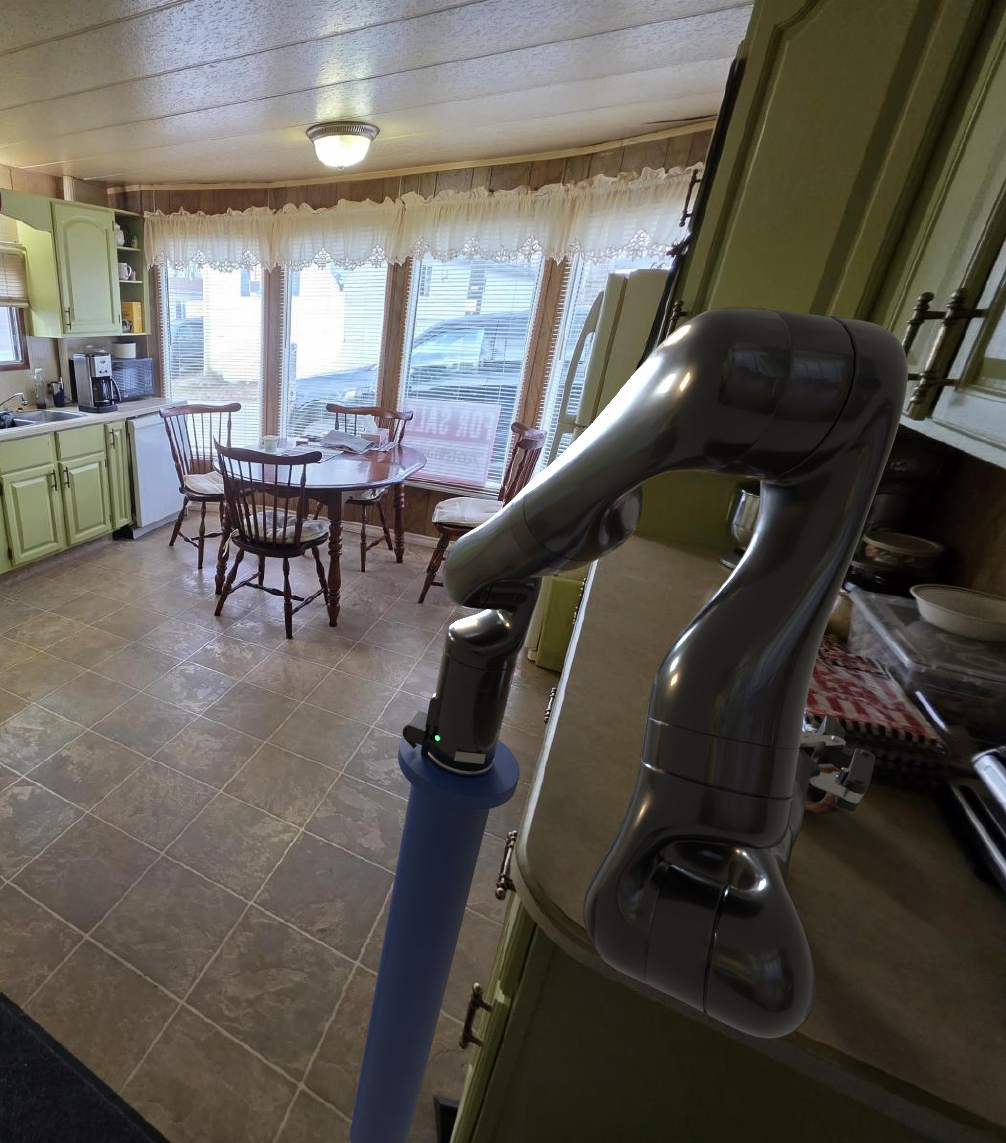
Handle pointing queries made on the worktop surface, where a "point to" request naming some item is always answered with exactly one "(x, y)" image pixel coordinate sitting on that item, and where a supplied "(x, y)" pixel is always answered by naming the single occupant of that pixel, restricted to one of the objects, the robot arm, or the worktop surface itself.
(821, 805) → the pottery mug
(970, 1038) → the worktop surface
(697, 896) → the robot arm
